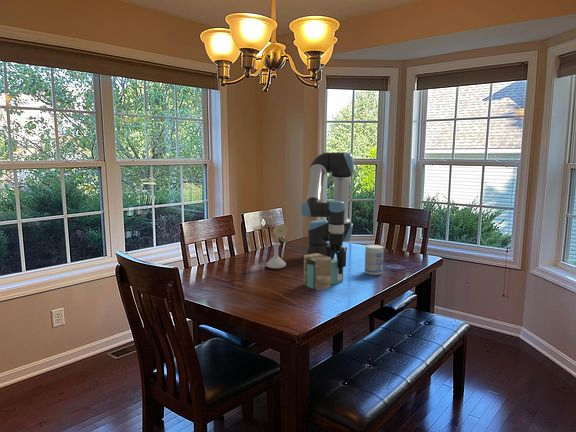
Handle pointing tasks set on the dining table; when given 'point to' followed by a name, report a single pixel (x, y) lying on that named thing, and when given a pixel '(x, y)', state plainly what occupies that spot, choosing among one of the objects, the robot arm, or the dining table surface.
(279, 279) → the dining table surface
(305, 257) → the tunnel
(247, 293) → the dining table surface
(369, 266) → the supplement tub
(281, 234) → the flower in vase
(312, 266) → the beige-capped teal block
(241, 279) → the dining table surface
